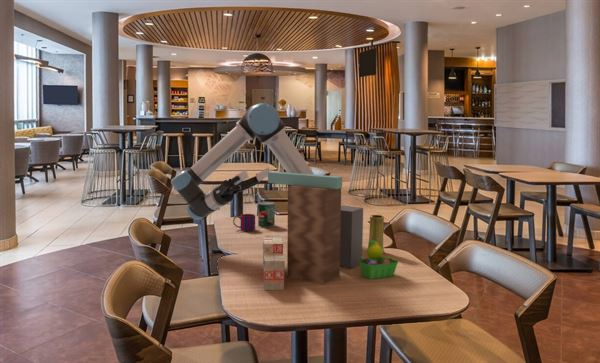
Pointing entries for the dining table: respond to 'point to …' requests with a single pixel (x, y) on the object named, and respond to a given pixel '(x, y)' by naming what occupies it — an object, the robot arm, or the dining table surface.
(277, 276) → the stack of blocks
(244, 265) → the dining table surface
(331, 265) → the stand
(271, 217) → the canned tomato
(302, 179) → the bar
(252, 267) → the dining table surface
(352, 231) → the step
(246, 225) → the mug
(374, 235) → the vase
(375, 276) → the fruit basket
